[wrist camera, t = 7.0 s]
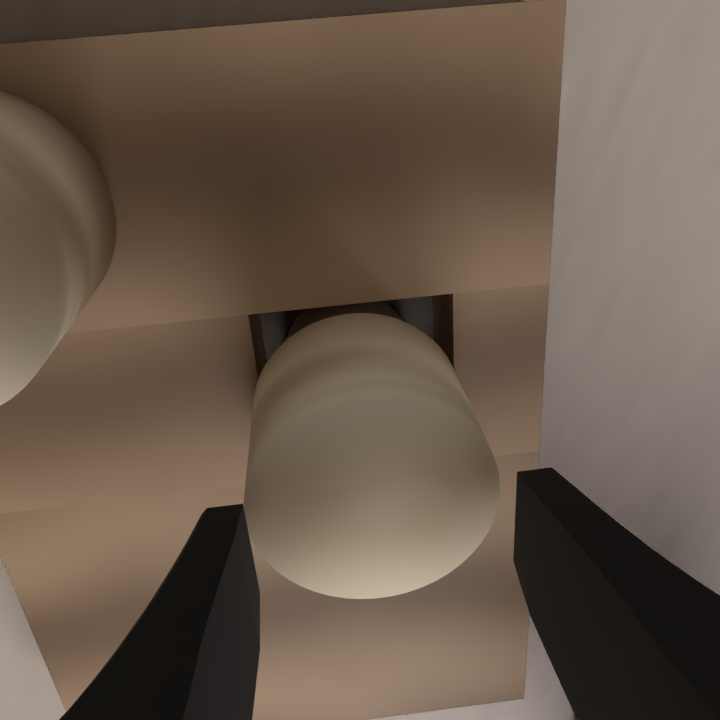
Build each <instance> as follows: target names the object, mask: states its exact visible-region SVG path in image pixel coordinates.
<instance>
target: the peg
mask: <svg viewBox="0 0 720 720" xmlns="http://www.w3.org/2000/svg"><path fill="white" fill-rule="evenodd" d="M499 498H500V478H499V472H498V467H497V464H496V461H495V458H494V455H493V453H492V451H491V449H490V447H489V444H488V442H487V440H486V438H485V436H484V434H483V431H482V429H481V427H480V425H479V423H478V421H477V418H476V416H475V414H474V412H473V410H472V408H471V405H470V403H469V401H468V399H467V397H466V395H465V392H464V390H463V388H462V386H461V384H460V382H459V379H458V377H457V375H456V373H455V371H454V369H453V366H452V365H451V363H450V361H449V359H448V357H447V355H446V354H445V353H444V351H443V350H442V349H441V347H440V346H439V345H438V344H437V343H436V342H435V341H434V340H433V339H432V338H431V337H429V336H428V335H427V334H425V333H424V332H423V331H421V330H420V329H418V328H416V327H415V326H413V325H411V324H409V323H407V322H404V321H402V319H401V318H400V317H399V315H398V314H397V313H396V312H395V311H394V310H393V309H392V308H391V307H390V306H388V305H387V304H386V303H384V302H382V301H376V302H367V303H357V304H347V305H338V306H328V307H318V308H308V309H305V310H304V311H303V312H302V313H301V314H300V315H299V316H298V317H297V318H296V320H295V321H294V323H293V325H292V326H291V328H290V331H289V333H288V336H287V339H286V341H285V342H284V343H283V344H282V345H280V346H279V347H278V348H277V350H276V351H275V352H274V353H273V354H272V356H271V357H270V358H269V360H268V361H267V363H266V364H265V366H264V368H263V370H262V372H261V374H260V376H259V379H258V381H257V385H256V389H255V393H254V402H253V412H252V422H251V432H250V442H249V452H248V463H247V473H246V483H245V493H244V512H245V517H246V522H247V527H248V532H249V534H250V537H251V539H252V542H253V543H254V545H255V546H256V548H257V550H258V551H259V553H260V554H261V555H262V557H263V558H264V559H265V560H266V561H267V563H268V564H269V565H271V566H272V567H273V568H274V569H275V570H276V571H277V572H278V573H280V574H281V575H283V576H284V577H286V578H287V579H288V580H290V581H292V582H294V583H296V584H298V585H300V586H301V587H304V588H306V589H309V590H312V591H314V592H317V593H321V594H325V595H328V596H333V597H340V598H348V599H376V598H383V597H391V596H395V595H399V594H404V593H407V592H410V591H413V590H416V589H419V588H422V587H424V586H426V585H428V584H431V583H433V582H435V581H437V580H438V579H440V578H442V577H444V576H445V575H447V574H449V573H450V572H451V571H453V570H454V569H455V568H457V567H458V566H459V565H461V564H462V563H463V562H464V561H465V560H466V559H467V558H468V557H469V556H470V555H471V554H472V553H473V552H474V551H475V550H476V549H477V547H478V546H479V545H480V544H481V542H482V541H483V539H484V538H485V536H486V535H487V533H488V531H489V529H490V527H491V525H492V523H493V521H494V518H495V515H496V512H497V509H498V504H499Z"/></svg>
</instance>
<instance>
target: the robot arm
mask: <svg viewBox="0 0 720 720" xmlns="http://www.w3.org/2000/svg"><path fill="white" fill-rule="evenodd" d="M513 561H514V565H515V568H516V571H517V575H518V578H519V581H520V585H521V588H522V591H523V594H524V597H525V601H526V604H527V607H528V610H529V613H530V616H531V618H532V620H533V622H534V625H535V627H536V629H537V632H538V634H539V636H540V638H541V641H542V643H543V645H544V647H545V650H546V652H547V654H548V656H549V659H550V661H551V663H552V665H553V667H554V670H555V672H556V674H557V676H558V678H559V681H560V683H561V685H562V687H563V689H564V692H565V694H566V696H567V698H568V700H569V703H570V705H571V707H572V709H573V711H574V714H575V716H576V718H577V720H720V596H719V595H718V594H716V593H715V592H713V591H712V590H710V589H709V588H707V587H706V586H704V585H702V584H701V583H699V582H698V581H697V580H695V579H694V578H692V577H691V576H689V575H688V574H687V573H685V572H684V571H682V570H681V569H679V568H678V567H676V566H675V565H674V564H672V563H671V562H669V561H668V560H666V559H665V558H664V557H662V556H661V555H660V554H658V553H657V552H656V551H654V550H653V549H651V548H650V547H649V546H647V545H646V544H645V543H643V542H642V541H641V540H640V539H638V538H637V537H636V536H634V535H633V534H632V533H631V532H629V531H628V530H627V529H625V528H624V527H623V526H622V525H620V524H619V523H618V522H617V521H615V520H614V519H613V518H612V517H610V516H609V515H608V514H607V513H606V512H604V511H603V510H602V509H601V508H600V507H598V506H597V505H596V504H595V503H593V502H592V501H591V500H590V499H589V498H587V497H586V496H585V495H584V494H583V493H582V492H580V491H579V490H578V489H577V488H576V487H574V486H573V485H572V484H571V483H570V482H568V481H567V480H566V479H565V478H564V477H562V476H561V475H560V474H559V473H558V472H556V471H555V470H554V469H553V468H544V469H535V470H527V471H518V472H517V485H516V508H515V531H514V555H513ZM259 653H260V590H259V584H258V579H257V574H256V569H255V564H254V558H253V553H252V548H251V543H250V538H249V532H248V527H247V522H246V517H245V512H244V506H243V504H236V505H227V506H219V507H210V508H207V509H206V510H205V511H204V512H203V513H202V514H201V516H200V518H199V520H198V522H197V524H196V526H195V527H194V529H193V531H192V533H191V535H190V537H189V538H188V540H187V542H186V544H185V546H184V547H183V549H182V551H181V553H180V554H179V556H178V558H177V559H176V561H175V563H174V564H173V566H172V568H171V570H170V571H169V573H168V574H167V576H166V577H165V579H164V581H163V582H162V584H161V585H160V587H159V589H158V590H157V592H156V593H155V595H154V596H153V598H152V600H151V601H150V603H149V604H148V606H147V607H146V609H145V610H144V612H143V613H142V615H141V616H140V617H139V619H138V620H137V622H136V623H135V624H134V626H133V627H132V629H131V630H130V631H129V633H128V634H127V636H126V637H125V639H124V640H123V641H122V643H121V644H120V646H119V647H118V648H117V650H116V651H115V652H114V654H113V655H112V656H111V658H110V659H109V660H108V662H107V663H106V664H105V666H104V667H103V668H102V669H101V671H100V672H99V673H98V674H97V676H96V677H95V678H94V679H93V681H92V682H91V683H90V684H89V686H88V687H87V688H86V689H85V690H84V692H83V693H82V694H81V695H80V696H79V698H78V699H77V700H76V701H75V702H74V704H73V705H72V706H71V707H70V708H69V709H68V711H67V712H66V713H65V714H64V715H63V716H62V717H61V718H60V720H252V716H253V708H254V699H255V690H256V681H257V672H258V662H259Z"/></svg>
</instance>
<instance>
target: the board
mask: <svg viewBox="0 0 720 720" xmlns="http://www.w3.org/2000/svg"><path fill="white" fill-rule="evenodd" d="M565 12H566V0H535V1H521V2H509V3H496V4H484V5H472V6H459V7H447V8H435V9H423V10H410V11H398V12H386V13H373V14H361V15H349V16H337V17H324V18H312V19H300V20H287V21H275V22H263V23H251V24H238V25H226V26H214V27H201V28H189V29H177V30H164V31H152V32H140V33H128V34H115V35H103V36H91V37H78V38H66V39H54V40H42V41H29V42H17V43H5V44H0V556H1V558H2V561H3V563H4V566H5V568H6V570H7V573H8V575H9V577H10V580H11V582H12V585H13V587H14V589H15V592H16V594H17V597H18V599H19V601H20V604H21V606H22V608H23V611H24V613H25V616H26V618H27V620H28V623H29V625H30V627H31V630H32V632H33V635H34V637H35V639H36V642H37V644H38V646H39V649H40V651H41V654H42V656H43V658H44V661H45V663H46V665H47V668H48V670H49V673H50V675H51V677H52V680H53V682H54V685H55V687H56V689H57V692H58V694H59V696H60V699H61V701H62V704H63V706H64V708H65V711H66V712H67V711H68V709H69V708H70V707H71V706H72V705H73V704H74V702H75V701H76V700H77V699H78V698H79V696H80V695H81V694H82V693H83V692H84V690H85V689H86V688H87V687H88V686H89V684H90V683H91V682H92V681H93V679H94V678H95V677H96V676H97V674H98V673H99V672H100V671H101V669H102V668H103V667H104V666H105V664H106V663H107V662H108V660H109V659H110V658H111V656H112V655H113V654H114V652H115V651H116V650H117V648H118V647H119V646H120V644H121V643H122V641H123V640H124V639H125V637H126V636H127V634H128V633H129V631H130V630H131V629H132V627H133V626H134V624H135V623H136V622H137V620H138V619H139V617H140V616H141V615H142V613H143V612H144V610H145V609H146V607H147V606H148V604H149V603H150V601H151V600H152V598H153V596H154V595H155V593H156V592H157V590H158V589H159V587H160V585H161V584H162V582H163V581H164V579H165V577H166V576H167V574H168V573H169V571H170V570H171V568H172V566H173V564H174V563H175V561H176V559H177V558H178V556H179V554H180V553H181V551H182V549H183V547H184V546H185V544H186V542H187V540H188V538H189V537H190V535H191V533H192V531H193V529H194V527H195V526H196V524H197V522H198V520H199V518H200V516H201V514H202V513H203V512H204V511H205V510H206V509H207V508H210V507H219V506H227V505H236V504H243V506H244V493H245V483H246V473H247V463H248V452H249V442H250V432H251V422H252V412H253V402H254V393H255V389H256V385H257V381H258V379H259V376H260V374H261V372H262V370H263V368H264V366H265V364H266V356H265V350H264V343H263V337H262V330H261V324H260V317H259V314H260V313H270V312H279V311H289V310H299V309H308V308H318V307H328V306H338V305H347V304H357V303H367V302H376V301H386V300H396V299H406V298H415V297H425V296H433V316H434V341H435V342H436V343H437V344H438V345H439V346H440V347H441V349H442V350H443V351H444V353H445V354H446V355H447V357H448V359H449V361H450V363H451V365H452V366H453V369H454V371H455V373H456V375H457V377H458V379H459V382H460V384H461V386H462V388H463V390H464V392H465V395H466V397H467V399H468V401H469V403H470V405H471V408H472V410H473V412H474V414H475V416H476V418H477V421H478V423H479V425H480V427H481V429H482V431H483V434H484V436H485V438H486V440H487V442H488V444H489V447H490V449H491V451H492V453H493V455H494V458H495V461H496V464H497V467H498V472H499V478H500V498H499V504H498V509H497V512H496V515H495V518H494V521H493V523H492V525H491V527H490V529H489V531H488V533H487V535H486V536H485V538H484V539H483V541H482V542H481V544H480V545H479V546H478V547H477V549H476V550H475V551H474V552H473V553H472V554H471V555H470V556H469V557H468V558H467V559H466V560H465V561H464V562H463V563H462V564H461V565H459V566H458V567H457V568H455V569H454V570H453V571H451V572H450V573H449V574H447V575H445V576H444V577H442V578H440V579H438V580H437V581H435V582H433V583H431V584H428V585H426V586H424V587H422V588H419V589H416V590H413V591H410V592H407V593H404V594H399V595H395V596H391V597H383V598H376V599H348V598H340V597H333V596H328V595H325V594H321V593H317V592H314V591H312V590H309V589H306V588H304V587H301V586H300V585H298V584H296V583H294V582H292V581H290V580H288V579H287V578H286V577H284V576H283V575H281V574H280V573H278V572H277V571H276V570H275V569H274V568H273V567H272V566H271V565H269V564H268V563H267V561H266V560H265V559H264V558H263V557H262V555H261V554H260V553H259V551H258V550H257V548H256V546H255V545H254V543H253V542H252V539H251V537H250V534H249V538H250V543H251V548H252V553H253V558H254V564H255V569H256V574H257V579H258V584H259V590H260V653H259V662H258V672H257V681H256V690H255V699H254V708H253V716H252V720H368V719H375V718H383V717H390V716H398V715H405V714H413V713H420V712H427V711H435V710H442V709H450V708H457V707H465V706H472V705H480V704H487V703H494V702H502V701H509V700H517V699H524V690H525V674H526V657H527V640H528V624H529V610H528V607H527V604H526V601H525V597H524V594H523V591H522V588H521V585H520V581H519V578H518V575H517V571H516V568H515V565H514V561H513V555H514V531H515V508H516V485H517V472H518V471H527V470H535V469H538V459H539V442H540V425H541V409H542V392H543V376H544V359H545V343H546V326H547V310H548V293H549V277H550V260H551V244H552V227H553V210H554V194H555V177H556V161H557V144H558V128H559V111H560V95H561V78H562V62H563V45H564V28H565Z"/></svg>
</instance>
